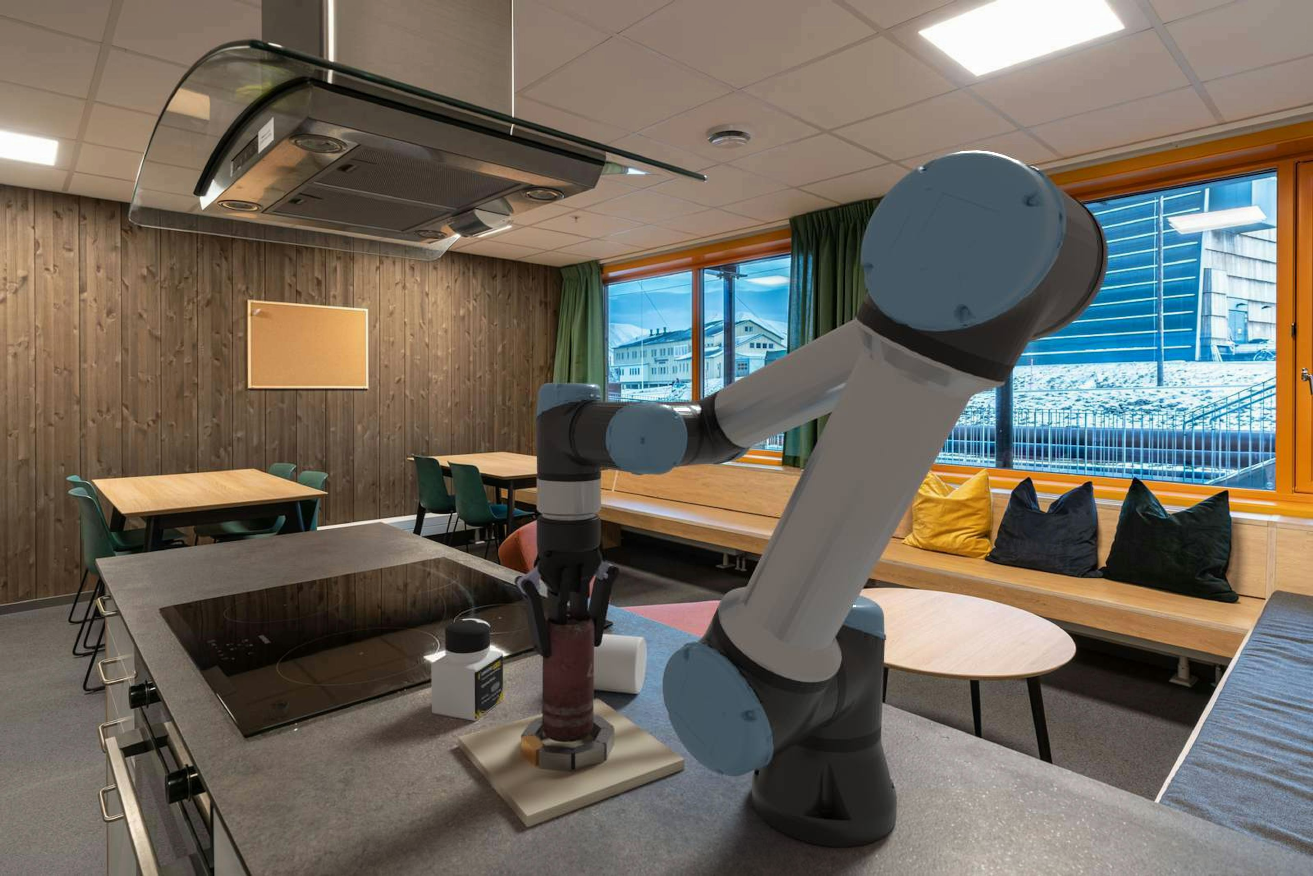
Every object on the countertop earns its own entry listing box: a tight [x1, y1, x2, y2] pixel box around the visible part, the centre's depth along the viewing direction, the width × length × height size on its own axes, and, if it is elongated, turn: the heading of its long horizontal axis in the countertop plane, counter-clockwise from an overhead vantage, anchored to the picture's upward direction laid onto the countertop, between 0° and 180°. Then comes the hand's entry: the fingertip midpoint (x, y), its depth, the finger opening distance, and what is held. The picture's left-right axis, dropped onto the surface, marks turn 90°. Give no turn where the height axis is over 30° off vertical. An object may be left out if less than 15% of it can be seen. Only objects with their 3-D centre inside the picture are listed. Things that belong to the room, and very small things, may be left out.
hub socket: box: [521, 714, 614, 772], centre depth 86 cm, size 10×10×2 cm
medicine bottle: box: [430, 618, 504, 722], centre depth 99 cm, size 7×7×12 cm
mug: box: [594, 633, 648, 695], centre depth 108 cm, size 12×10×8 cm
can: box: [541, 610, 595, 742], centre depth 86 cm, size 6×6×14 cm
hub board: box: [457, 697, 686, 828], centre depth 86 cm, size 20×20×1 cm
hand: (567, 708), depth 86 cm, fingers closed
